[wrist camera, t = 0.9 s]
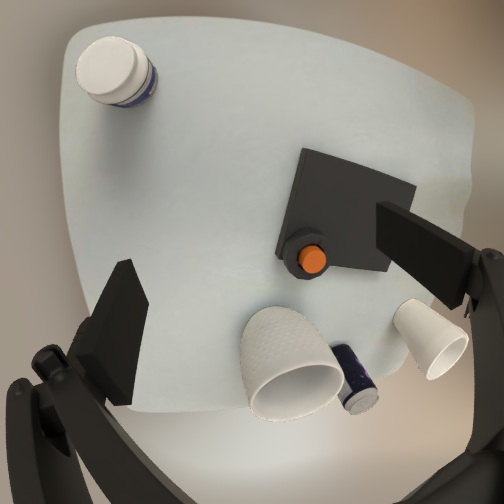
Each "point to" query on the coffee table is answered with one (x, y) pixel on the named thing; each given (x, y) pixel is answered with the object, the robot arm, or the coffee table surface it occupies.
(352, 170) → the scale
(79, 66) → the pill bottle
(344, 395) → the beverage can
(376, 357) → the coffee table surface
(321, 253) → the button
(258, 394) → the mug
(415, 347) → the foam cup
